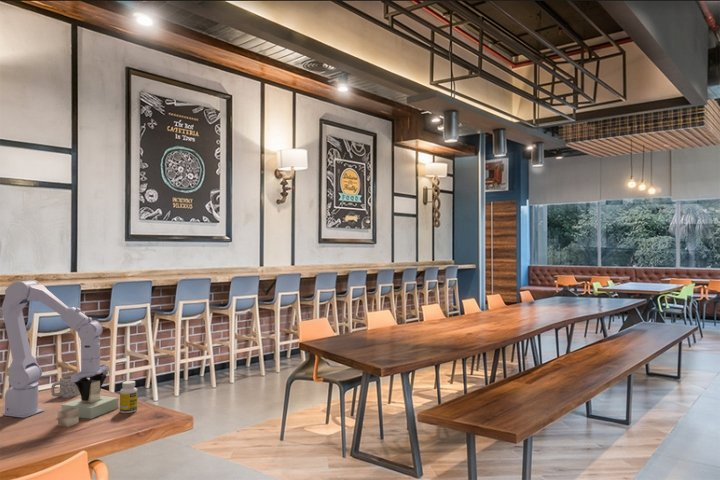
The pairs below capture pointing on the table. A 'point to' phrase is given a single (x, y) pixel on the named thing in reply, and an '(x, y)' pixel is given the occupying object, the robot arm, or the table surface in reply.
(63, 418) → the short pin
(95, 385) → the tall beige block
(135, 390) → the supplement bottle
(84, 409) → the hole block
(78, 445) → the table surface
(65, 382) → the mug
